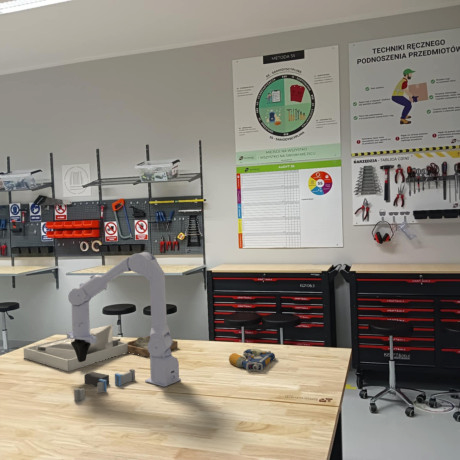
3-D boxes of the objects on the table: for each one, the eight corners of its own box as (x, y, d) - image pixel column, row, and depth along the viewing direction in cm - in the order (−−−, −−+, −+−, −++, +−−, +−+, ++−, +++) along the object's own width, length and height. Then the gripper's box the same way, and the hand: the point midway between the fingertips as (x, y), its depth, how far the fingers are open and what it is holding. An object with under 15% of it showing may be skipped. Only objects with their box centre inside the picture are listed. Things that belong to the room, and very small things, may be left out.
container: (35, 358, 179) (35, 328, 180) (81, 347, 201) (81, 320, 202) (77, 364, 169) (77, 332, 170) (120, 351, 192) (120, 323, 193)
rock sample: (143, 346, 181) (143, 329, 188) (133, 356, 185) (133, 339, 191) (164, 353, 187) (163, 336, 193) (154, 363, 190) (153, 345, 197)
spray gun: (221, 370, 163) (260, 375, 157) (221, 358, 163) (260, 363, 157) (242, 355, 182) (278, 359, 176) (242, 344, 182) (278, 348, 176)
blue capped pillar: (136, 380, 154) (135, 369, 154) (78, 402, 136) (78, 390, 136) (131, 378, 155) (130, 368, 155) (73, 400, 137) (73, 388, 137)
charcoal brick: (109, 384, 151) (108, 375, 151) (101, 387, 148) (101, 378, 148) (92, 380, 155) (92, 371, 155) (84, 384, 152) (84, 374, 152)
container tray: (128, 352, 187) (127, 343, 187) (67, 371, 165) (67, 360, 165) (83, 342, 206) (83, 333, 206) (23, 357, 184) (23, 348, 184)
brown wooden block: (177, 348, 192) (177, 341, 192) (149, 357, 179) (149, 350, 179) (150, 342, 203) (149, 335, 203) (121, 351, 190) (121, 344, 190)
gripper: (58, 321, 157) (59, 360, 157) (83, 326, 148) (84, 367, 149) (76, 318, 163) (77, 355, 163) (101, 322, 154) (102, 362, 154)
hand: (81, 361), depth 156 cm, fingers closed
